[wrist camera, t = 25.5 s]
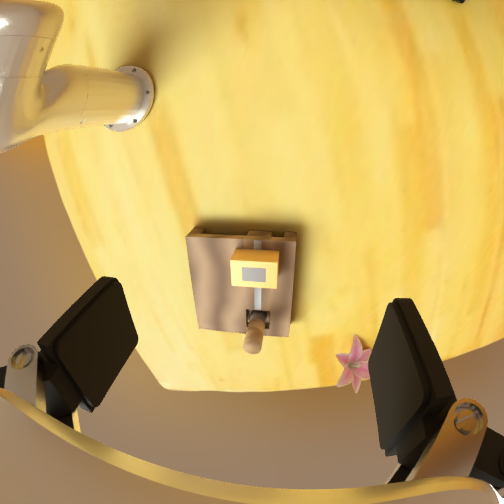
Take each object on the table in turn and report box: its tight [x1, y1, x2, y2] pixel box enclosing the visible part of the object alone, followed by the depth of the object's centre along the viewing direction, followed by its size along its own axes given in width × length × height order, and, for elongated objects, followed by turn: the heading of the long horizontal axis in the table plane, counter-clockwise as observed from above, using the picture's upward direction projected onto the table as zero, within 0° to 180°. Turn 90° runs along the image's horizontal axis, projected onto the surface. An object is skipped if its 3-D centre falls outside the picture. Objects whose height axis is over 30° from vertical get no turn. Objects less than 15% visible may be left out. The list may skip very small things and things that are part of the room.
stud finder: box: [230, 249, 279, 289], centre depth 43 cm, size 7×4×4 cm, turn 91°
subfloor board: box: [186, 228, 296, 337], centre depth 49 cm, size 18×20×4 cm
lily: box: [336, 334, 372, 393], centre depth 53 cm, size 12×12×10 cm
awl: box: [243, 310, 267, 354], centre depth 47 cm, size 3×3×9 cm
